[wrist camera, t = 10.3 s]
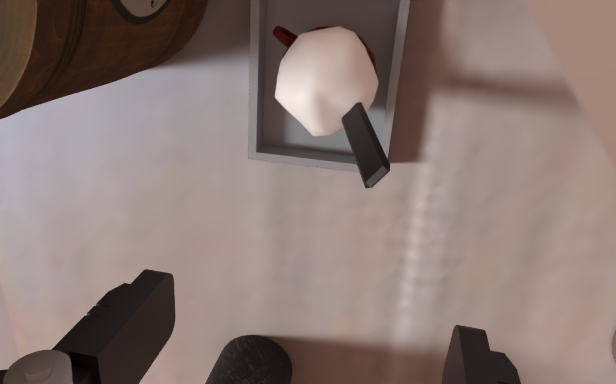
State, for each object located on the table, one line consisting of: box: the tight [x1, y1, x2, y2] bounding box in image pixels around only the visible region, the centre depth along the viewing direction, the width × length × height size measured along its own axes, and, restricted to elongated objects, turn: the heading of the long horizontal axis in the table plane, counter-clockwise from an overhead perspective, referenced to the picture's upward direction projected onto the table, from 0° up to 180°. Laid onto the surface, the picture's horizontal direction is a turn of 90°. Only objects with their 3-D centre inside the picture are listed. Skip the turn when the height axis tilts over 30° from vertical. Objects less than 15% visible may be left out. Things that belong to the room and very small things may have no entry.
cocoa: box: [273, 26, 390, 188], centre depth 28 cm, size 10×6×12 cm, turn 28°
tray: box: [248, 0, 410, 173], centre depth 33 cm, size 10×13×2 cm
